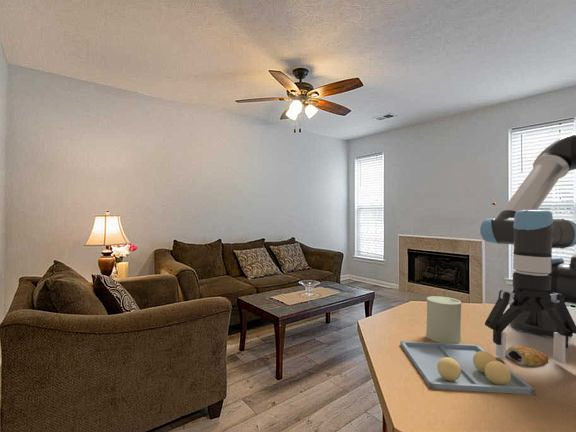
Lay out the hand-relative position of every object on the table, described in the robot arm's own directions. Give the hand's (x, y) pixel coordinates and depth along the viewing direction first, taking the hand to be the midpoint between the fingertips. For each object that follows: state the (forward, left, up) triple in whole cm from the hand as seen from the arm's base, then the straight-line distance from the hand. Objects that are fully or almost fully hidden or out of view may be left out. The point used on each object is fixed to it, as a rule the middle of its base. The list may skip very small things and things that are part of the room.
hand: (529, 359), depth 78 cm
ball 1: (+14, +7, 0) cm, 16 cm away
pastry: (0, -1, -1) cm, 2 cm away
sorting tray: (+19, +5, -1) cm, 20 cm away
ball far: (+24, +12, 0) cm, 27 cm away
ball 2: (+14, +12, 0) cm, 19 cm away
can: (+15, -13, -1) cm, 20 cm away
